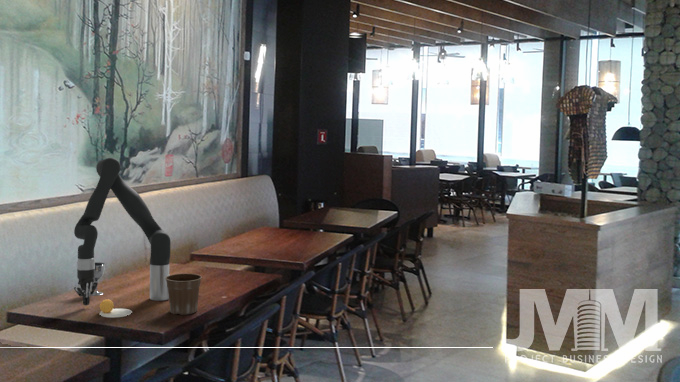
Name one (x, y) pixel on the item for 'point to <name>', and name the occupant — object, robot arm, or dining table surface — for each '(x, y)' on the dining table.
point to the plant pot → (183, 293)
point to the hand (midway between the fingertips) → (86, 304)
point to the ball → (106, 306)
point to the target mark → (116, 313)
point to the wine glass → (98, 276)
